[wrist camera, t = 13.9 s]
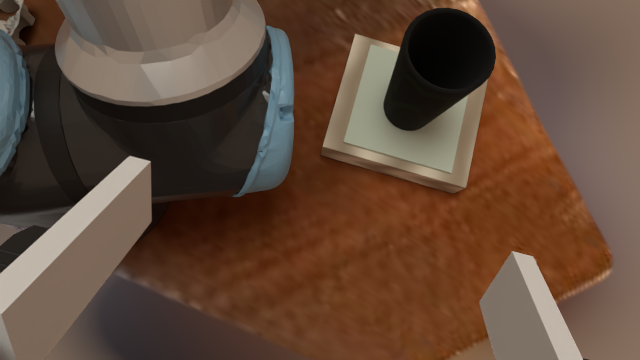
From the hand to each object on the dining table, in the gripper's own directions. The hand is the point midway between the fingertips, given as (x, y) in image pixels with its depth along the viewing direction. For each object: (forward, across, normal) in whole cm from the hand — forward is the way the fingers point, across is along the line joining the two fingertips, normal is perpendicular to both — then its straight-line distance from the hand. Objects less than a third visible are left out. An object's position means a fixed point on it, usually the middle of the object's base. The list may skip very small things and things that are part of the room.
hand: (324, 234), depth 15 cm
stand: (+34, +8, -8) cm, 36 cm away
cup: (+31, +7, -6) cm, 33 cm away
